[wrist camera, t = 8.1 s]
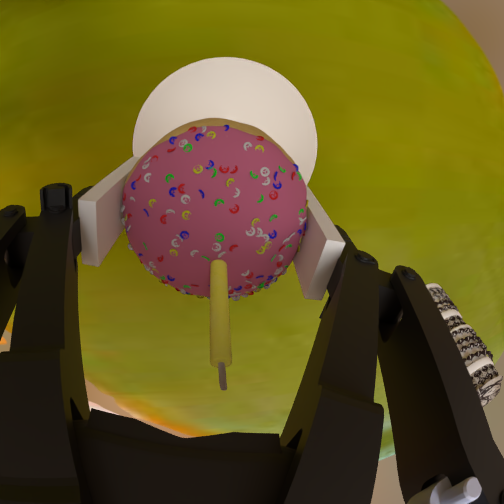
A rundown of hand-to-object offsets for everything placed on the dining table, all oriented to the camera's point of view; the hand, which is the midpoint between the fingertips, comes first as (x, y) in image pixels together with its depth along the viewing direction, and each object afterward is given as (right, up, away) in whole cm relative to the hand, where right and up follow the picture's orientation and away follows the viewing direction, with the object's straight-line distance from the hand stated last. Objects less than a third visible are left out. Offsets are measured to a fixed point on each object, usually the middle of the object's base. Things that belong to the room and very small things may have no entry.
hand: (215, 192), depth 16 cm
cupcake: (0, +1, +1) cm, 2 cm away
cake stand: (-1, +11, +18) cm, 21 cm away
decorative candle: (+36, -13, +35) cm, 51 cm away
